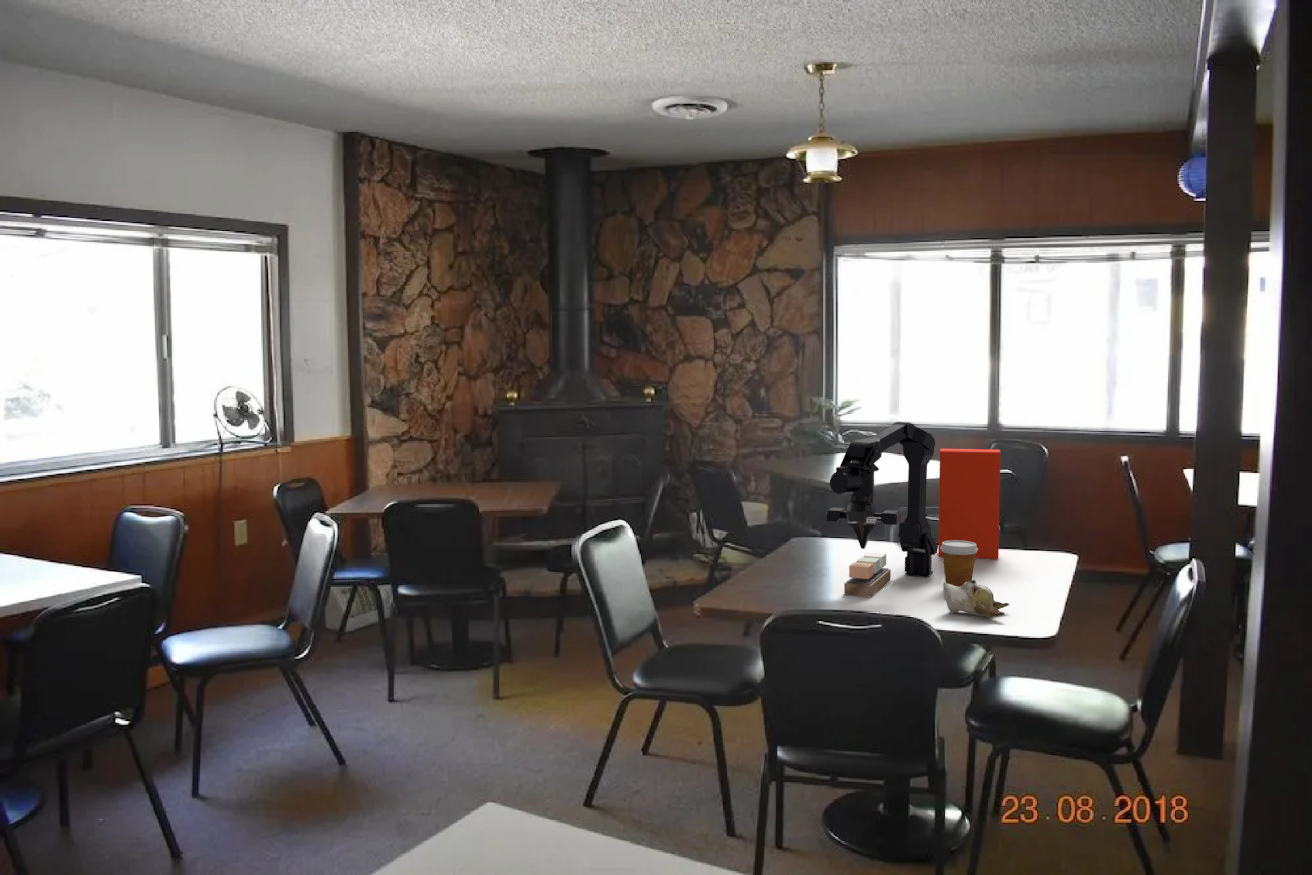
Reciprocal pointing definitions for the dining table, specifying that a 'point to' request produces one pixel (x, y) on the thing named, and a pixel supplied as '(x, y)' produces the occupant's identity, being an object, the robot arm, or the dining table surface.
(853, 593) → the key panel
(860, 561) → the key sage
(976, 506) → the file binder
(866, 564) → the key terracotta
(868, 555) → the key white
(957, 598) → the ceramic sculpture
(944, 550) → the disposable coffee cup
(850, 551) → the dining table surface
